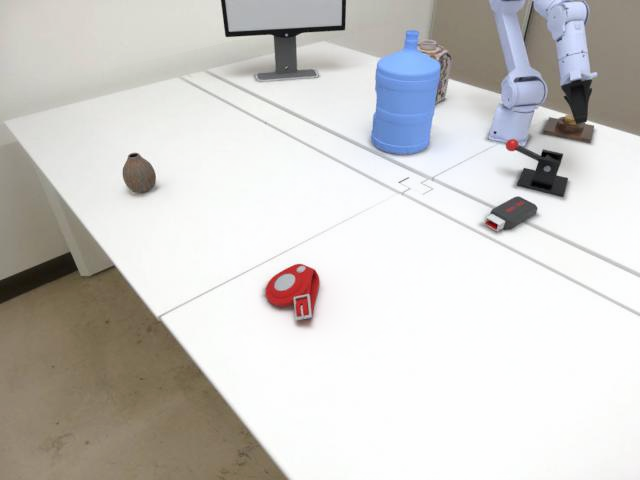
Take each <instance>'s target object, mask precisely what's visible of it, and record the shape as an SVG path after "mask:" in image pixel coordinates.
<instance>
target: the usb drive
mask: <svg viewBox="0 0 640 480" xmlns="http://www.w3.org/2000/svg"><path fill="white" fill-rule="evenodd" d="M537 212H538V206H537V205H536V204H535V203H533V202H531V201H530V200H527V199H525V198H524V197H521V196H519V195H518V196H517V195H516V196H514V197H511V198H510V199H509V200H507V201H505V202H502V203H501V204H499V205H497V206H496V207H494V208H492V209H491V211H490V214H489V215H487V216H485V218H484V222H483V224H484V226H487V227H488V228H489V229H492V230H493V231H495V232H499V231H502V230H504V231H508V230H512V229H514V228H515V227H517V226H518V225H520V224H522V223H523V222H526V221H527V220H528V219H531V218H532V217H533V216H536V214H537Z"/></svg>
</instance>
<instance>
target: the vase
mask: <svg viewBox="0 0 640 480" xmlns="http://www.w3.org/2000/svg"><path fill="white" fill-rule="evenodd" d="M122 179H123V183H124V184H125V186H126V187H127V188H128V189H129V190H130V191H132V192H133V193H135V194H139V195H140V194H146V193H149V192H151V191H152V190H153V188H154V187H155V185H156V182H157V175H156V170H155V169H154V167H153V165H152V163H151V162H150V161H148V160H147V159H145V157H143V156H141V154H140V153H139V152H131V153H129V154H128V155H127V158H126V161H125V163H124V164H123V166H122Z"/></svg>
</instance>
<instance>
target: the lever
mask: <svg viewBox="0 0 640 480" xmlns="http://www.w3.org/2000/svg"><path fill="white" fill-rule="evenodd" d="M505 149H506V150H507V151H508V152H515V151H516V152H518V153H520V154H523V155H525V156H527V157H529V158H531V159H532V160H535V161H537V162H538V161H539V158H540V157H542V156H541V154H539V153H536V152H533V151H532V150H530V149H528V148H526V147H525V146H524V147H523V146H520V145H519V143H518V141H517V140H515V139H510V140H508V141H507V142H506V143H505ZM545 158H548V159H553V160H558V159H556V158H554V157H552V156H550V155H548V154H547V155H546V156H545Z"/></svg>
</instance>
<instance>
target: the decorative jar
mask: <svg viewBox="0 0 640 480" xmlns="http://www.w3.org/2000/svg"><path fill="white" fill-rule="evenodd" d="M417 49H418V51H420V52H422V53H423V54H425V55H427V56H429V57H431V58H433V59H435V60H436V61H438V62H439V64H440V66H441V69H440V79H439V84H438V88H437V94H436V100H435V105H437V104H439V103H440V102H442V101H444V100H445V99H446V96H447V91H448V85H449V79H450V74H451V67H452V61H453V57H452V55H451V54H450V51H449V50H448V49H447V48H446V47H444V46H442V45H439V44H437V41H436V40H433V39H422V40H420V43H418V44H417Z"/></svg>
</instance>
